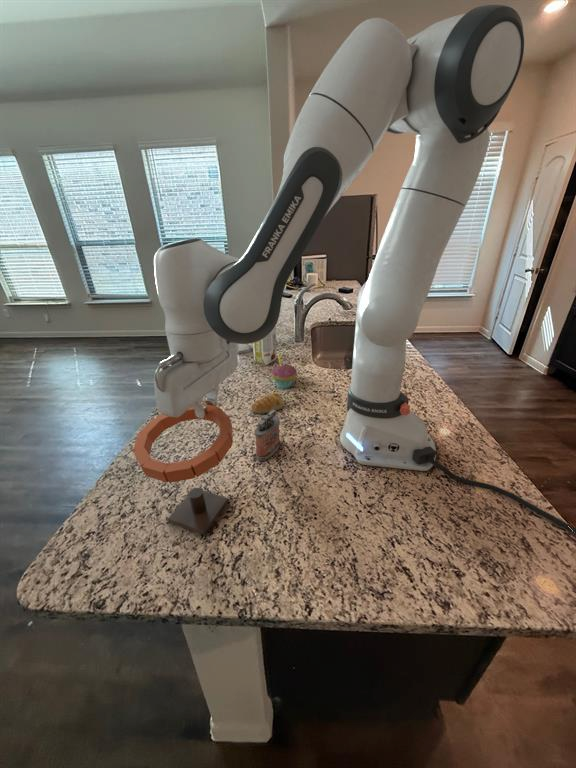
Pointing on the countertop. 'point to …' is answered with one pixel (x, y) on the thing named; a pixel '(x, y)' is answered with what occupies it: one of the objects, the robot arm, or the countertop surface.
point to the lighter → (267, 436)
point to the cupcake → (283, 374)
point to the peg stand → (198, 511)
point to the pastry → (268, 403)
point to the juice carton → (265, 349)
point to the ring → (186, 467)
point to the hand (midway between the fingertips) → (207, 411)
